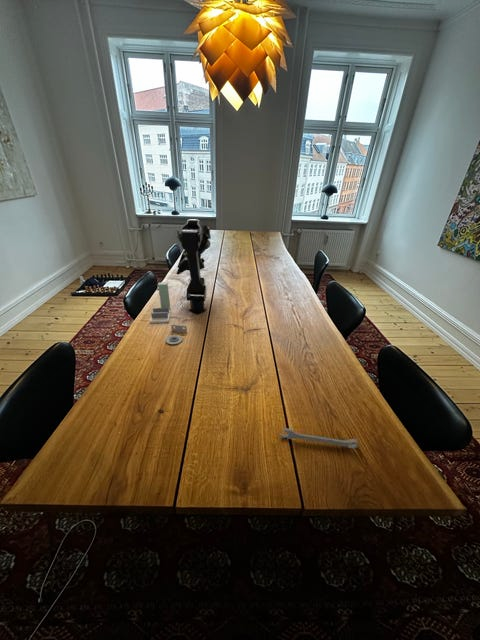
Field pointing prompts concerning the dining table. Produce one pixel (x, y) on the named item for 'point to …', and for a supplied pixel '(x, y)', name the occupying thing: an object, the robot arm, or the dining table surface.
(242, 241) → the dining table surface
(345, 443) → the combination wrench
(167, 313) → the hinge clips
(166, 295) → the cabinet door
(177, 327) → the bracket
